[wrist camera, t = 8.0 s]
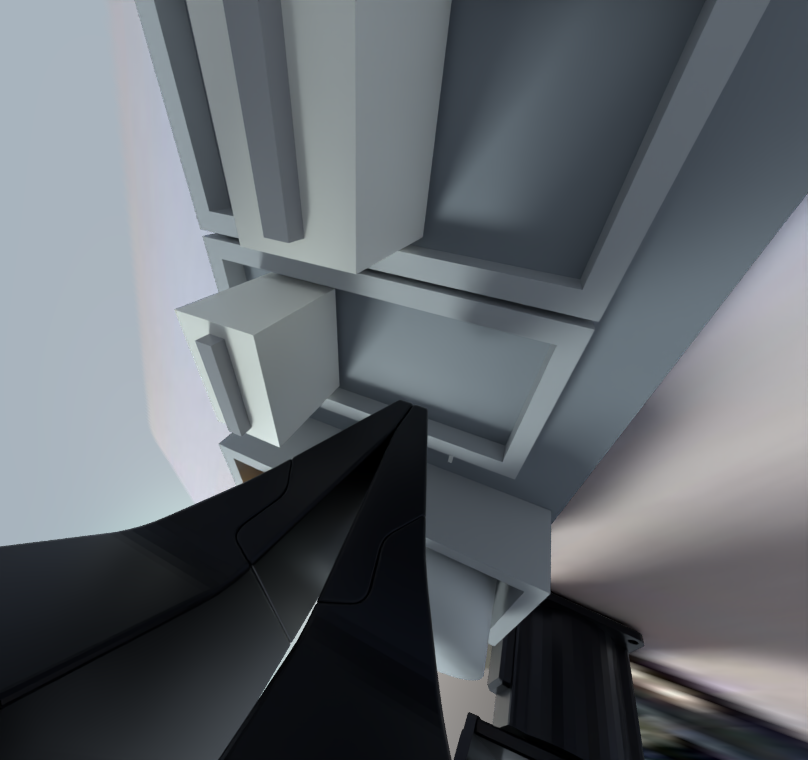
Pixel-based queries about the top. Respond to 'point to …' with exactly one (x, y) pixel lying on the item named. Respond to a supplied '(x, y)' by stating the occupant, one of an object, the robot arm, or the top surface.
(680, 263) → the panel
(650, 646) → the top surface
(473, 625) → the button
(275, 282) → the slider
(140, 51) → the top surface
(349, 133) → the slider
